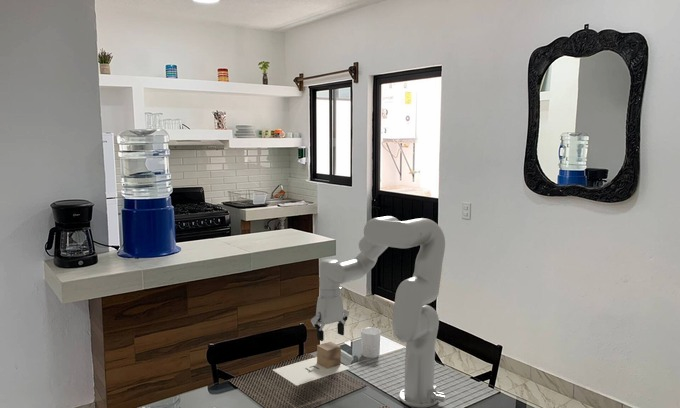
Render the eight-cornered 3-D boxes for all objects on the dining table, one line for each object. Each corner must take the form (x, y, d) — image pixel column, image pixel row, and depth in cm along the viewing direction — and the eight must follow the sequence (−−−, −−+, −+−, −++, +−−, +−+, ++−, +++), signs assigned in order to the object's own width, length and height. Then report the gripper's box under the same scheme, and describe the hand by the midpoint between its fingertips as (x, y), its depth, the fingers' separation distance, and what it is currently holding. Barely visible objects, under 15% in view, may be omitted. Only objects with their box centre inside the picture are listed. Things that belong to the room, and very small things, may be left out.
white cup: (357, 352, 212) (358, 328, 211) (375, 350, 215) (376, 326, 214) (364, 359, 205) (365, 335, 204) (383, 357, 207) (383, 333, 206)
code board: (324, 356, 208) (324, 354, 208) (350, 369, 195) (350, 368, 195) (272, 371, 193) (272, 369, 193) (296, 387, 180) (296, 385, 180)
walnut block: (330, 359, 203) (330, 341, 203) (340, 364, 198) (340, 346, 198) (316, 363, 200) (317, 345, 199) (327, 368, 195) (327, 350, 194)
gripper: (341, 287, 204) (342, 329, 206) (305, 294, 193) (306, 339, 195) (354, 290, 198) (354, 334, 200) (317, 298, 188) (318, 345, 189)
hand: (330, 337), depth 197 cm, fingers open, 9 cm apart
